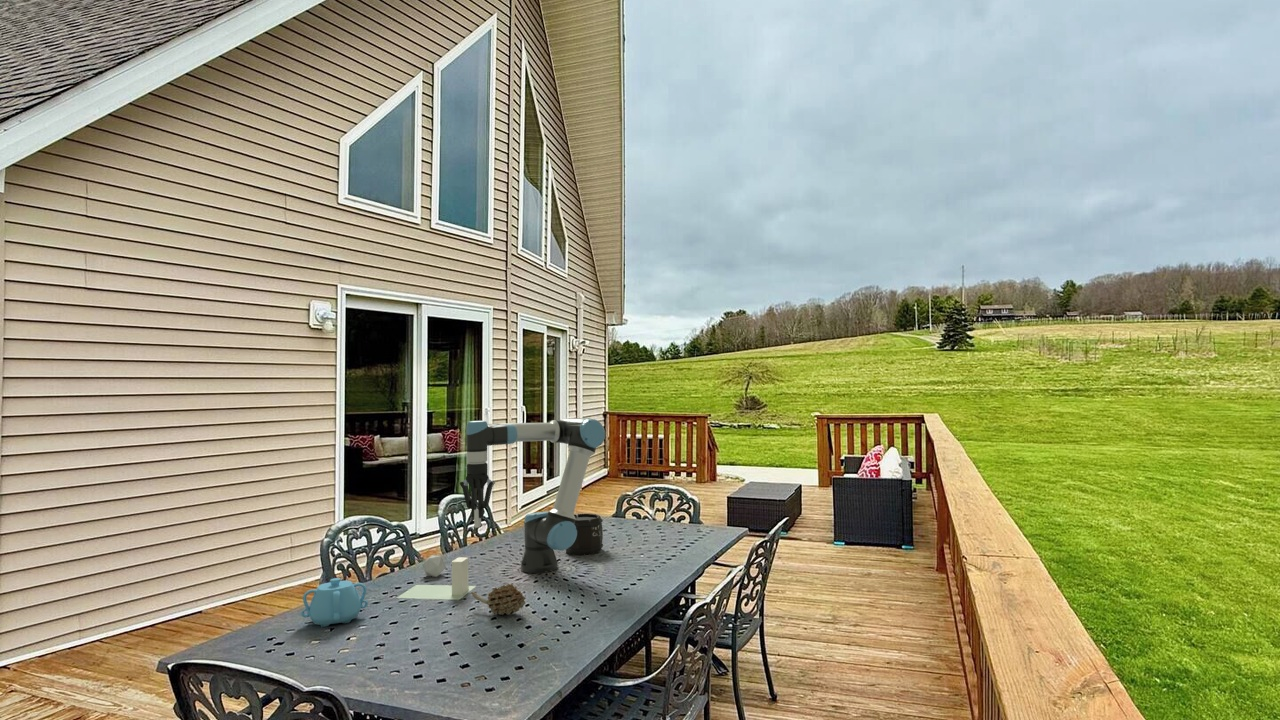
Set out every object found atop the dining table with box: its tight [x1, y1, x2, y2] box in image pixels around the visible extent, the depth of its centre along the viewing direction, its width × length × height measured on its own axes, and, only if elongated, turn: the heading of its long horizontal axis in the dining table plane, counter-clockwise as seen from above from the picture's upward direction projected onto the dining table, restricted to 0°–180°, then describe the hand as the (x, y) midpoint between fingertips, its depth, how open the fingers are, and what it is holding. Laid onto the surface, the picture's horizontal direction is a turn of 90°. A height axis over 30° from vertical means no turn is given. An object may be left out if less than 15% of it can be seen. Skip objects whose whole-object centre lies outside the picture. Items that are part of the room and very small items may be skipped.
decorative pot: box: [300, 577, 369, 628], centre depth 218 cm, size 16×16×14 cm
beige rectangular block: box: [451, 556, 470, 595], centre depth 245 cm, size 4×6×12 cm, turn 172°
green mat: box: [395, 584, 477, 601], centre depth 246 cm, size 24×16×1 cm, turn 82°
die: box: [421, 554, 447, 578], centre depth 268 cm, size 8×9×10 cm
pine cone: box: [471, 583, 526, 616], centre depth 222 cm, size 22×10×10 cm, turn 68°
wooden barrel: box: [565, 513, 604, 557], centre depth 303 cm, size 18×18×16 cm
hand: (477, 526), depth 245 cm, fingers closed
